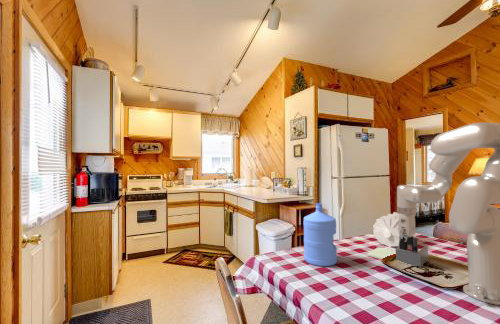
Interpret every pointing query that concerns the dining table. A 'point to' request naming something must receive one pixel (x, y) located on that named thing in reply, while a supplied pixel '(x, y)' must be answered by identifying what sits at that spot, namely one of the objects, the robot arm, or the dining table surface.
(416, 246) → the stand
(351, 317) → the dining table surface
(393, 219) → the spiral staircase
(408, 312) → the dining table surface
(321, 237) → the water jug
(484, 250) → the robot arm
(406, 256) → the c link
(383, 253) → the board
